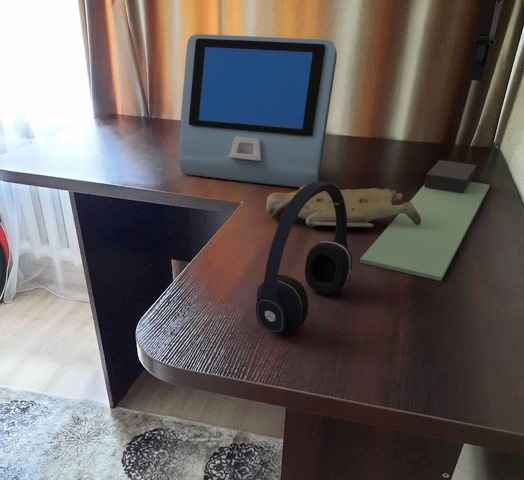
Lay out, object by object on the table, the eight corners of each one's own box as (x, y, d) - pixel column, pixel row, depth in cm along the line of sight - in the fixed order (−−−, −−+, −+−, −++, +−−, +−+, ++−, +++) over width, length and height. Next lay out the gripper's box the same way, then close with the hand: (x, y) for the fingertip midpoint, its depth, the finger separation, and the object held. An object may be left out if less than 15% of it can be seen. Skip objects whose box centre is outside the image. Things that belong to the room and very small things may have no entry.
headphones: (316, 277, 83) (326, 163, 73) (355, 288, 80) (371, 171, 70) (247, 332, 70) (246, 201, 59) (289, 348, 67) (297, 214, 56)
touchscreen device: (176, 177, 125) (167, 34, 109) (207, 159, 141) (203, 32, 124) (314, 193, 117) (327, 41, 100) (330, 172, 133) (344, 38, 116)
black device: (476, 165, 125) (466, 180, 114) (473, 178, 126) (463, 194, 116) (439, 159, 128) (426, 174, 118) (436, 172, 130) (423, 187, 120)
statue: (413, 198, 104) (269, 214, 108) (416, 168, 98) (264, 186, 102) (421, 232, 98) (269, 248, 102) (426, 202, 93) (263, 219, 96)
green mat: (489, 188, 123) (490, 184, 122) (441, 281, 83) (442, 277, 82) (431, 178, 128) (431, 175, 127) (359, 262, 88) (360, 258, 88)
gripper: (491, -61, 99) (462, 75, 113) (481, -67, 90) (451, 82, 103) (532, -62, 96) (498, 77, 110) (527, -68, 87) (490, 85, 101)
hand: (475, 79), depth 107 cm, fingers closed
